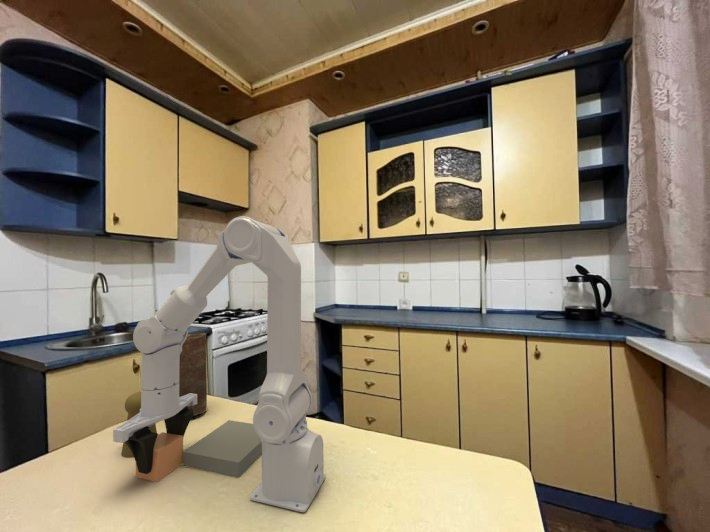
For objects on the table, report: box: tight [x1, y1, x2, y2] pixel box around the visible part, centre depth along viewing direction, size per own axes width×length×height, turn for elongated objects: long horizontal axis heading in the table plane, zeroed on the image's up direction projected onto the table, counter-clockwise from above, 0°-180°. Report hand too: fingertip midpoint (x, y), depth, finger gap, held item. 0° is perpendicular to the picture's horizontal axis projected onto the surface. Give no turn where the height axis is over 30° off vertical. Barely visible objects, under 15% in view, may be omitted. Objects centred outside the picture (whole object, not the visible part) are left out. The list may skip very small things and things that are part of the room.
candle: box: [179, 332, 208, 417], centre depth 73 cm, size 8×7×20 cm
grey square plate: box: [182, 419, 262, 479], centre depth 57 cm, size 12×12×3 cm
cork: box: [120, 391, 158, 459], centre depth 59 cm, size 6×6×11 cm
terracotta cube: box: [134, 431, 184, 483], centre depth 52 cm, size 5×5×5 cm
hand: (160, 461), depth 52 cm, fingers closed on terracotta cube, 5 cm apart
